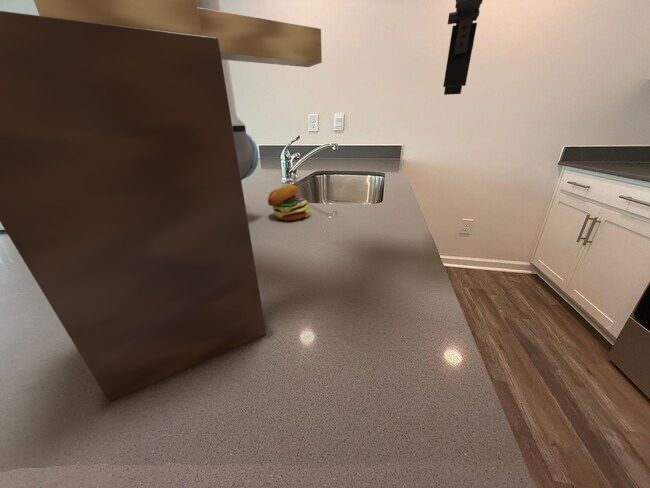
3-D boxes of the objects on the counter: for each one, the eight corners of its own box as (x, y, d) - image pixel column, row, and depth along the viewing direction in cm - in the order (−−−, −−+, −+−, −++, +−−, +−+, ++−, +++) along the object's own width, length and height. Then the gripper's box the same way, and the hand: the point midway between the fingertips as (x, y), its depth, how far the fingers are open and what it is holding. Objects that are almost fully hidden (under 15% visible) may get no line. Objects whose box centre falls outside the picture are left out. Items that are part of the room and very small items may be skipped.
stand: (108, 402, 25) (-140, -8, 12) (119, 327, 34) (-15, 50, 21) (266, 334, 32) (218, 37, 20) (240, 288, 42) (195, 66, 29)
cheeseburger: (306, 223, 67) (294, 186, 63) (270, 230, 70) (257, 195, 67) (315, 210, 76) (305, 177, 72) (282, 217, 79) (271, 185, 75)
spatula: (40, 17, 15) (12, -54, 14) (78, 56, 24) (63, 14, 22) (342, 55, 26) (343, 16, 24) (294, 72, 34) (292, 44, 33)
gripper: (566, -251, 20) (492, 78, 29) (504, -61, 40) (473, 95, 49) (457, -205, 22) (421, 83, 31) (451, -49, 43) (431, 97, 52)
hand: (452, 91), depth 40 cm, fingers open, 13 cm apart
